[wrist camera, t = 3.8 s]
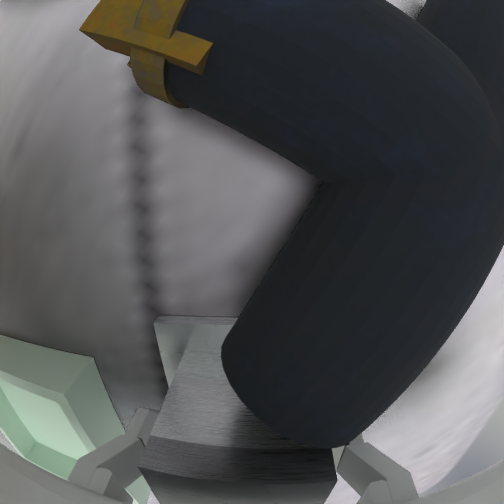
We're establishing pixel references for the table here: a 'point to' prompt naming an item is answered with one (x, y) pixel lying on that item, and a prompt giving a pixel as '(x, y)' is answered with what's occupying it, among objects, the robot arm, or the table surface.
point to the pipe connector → (344, 182)
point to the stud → (189, 337)
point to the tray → (56, 408)
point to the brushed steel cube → (226, 447)
